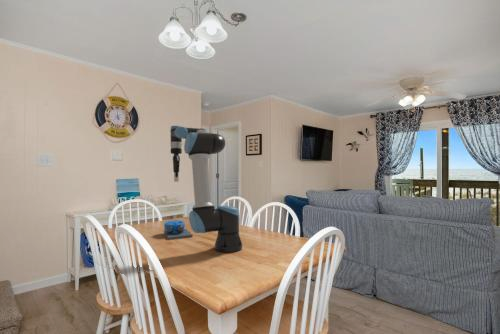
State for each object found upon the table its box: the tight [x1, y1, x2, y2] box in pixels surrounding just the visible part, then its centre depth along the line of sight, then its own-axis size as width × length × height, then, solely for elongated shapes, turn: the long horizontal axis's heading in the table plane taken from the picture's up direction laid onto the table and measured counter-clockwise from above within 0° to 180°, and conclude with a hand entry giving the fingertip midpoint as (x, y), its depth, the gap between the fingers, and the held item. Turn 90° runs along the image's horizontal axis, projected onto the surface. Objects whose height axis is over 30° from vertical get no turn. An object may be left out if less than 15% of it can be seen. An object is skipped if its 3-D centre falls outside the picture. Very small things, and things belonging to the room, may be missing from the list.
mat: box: [163, 228, 193, 241], centre depth 180 cm, size 16×15×2 cm
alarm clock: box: [163, 220, 186, 234], centre depth 183 cm, size 13×6×15 cm
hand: (176, 181), depth 194 cm, fingers closed
